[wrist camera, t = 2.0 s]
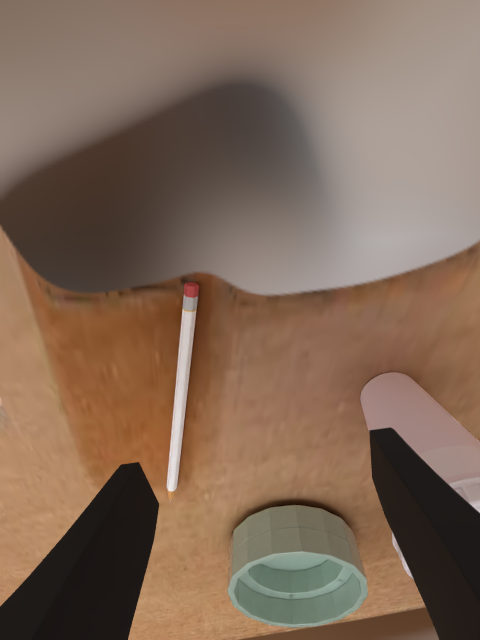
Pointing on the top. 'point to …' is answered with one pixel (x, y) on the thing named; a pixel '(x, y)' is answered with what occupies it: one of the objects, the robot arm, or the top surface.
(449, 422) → the smoothie
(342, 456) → the top surface
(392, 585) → the top surface
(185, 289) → the pencil
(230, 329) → the top surface
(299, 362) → the top surface
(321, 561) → the lid
